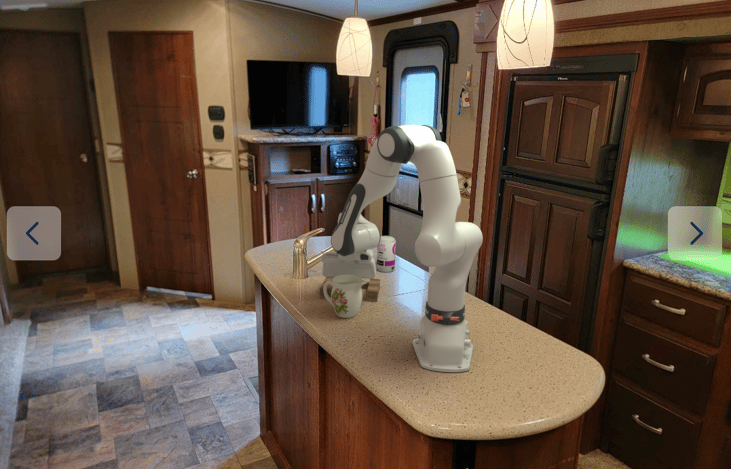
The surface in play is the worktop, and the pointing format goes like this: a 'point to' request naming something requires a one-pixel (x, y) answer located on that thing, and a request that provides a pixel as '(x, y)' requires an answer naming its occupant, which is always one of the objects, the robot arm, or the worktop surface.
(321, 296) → the holder
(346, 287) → the pitcher
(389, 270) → the supplement can
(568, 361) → the worktop surface
